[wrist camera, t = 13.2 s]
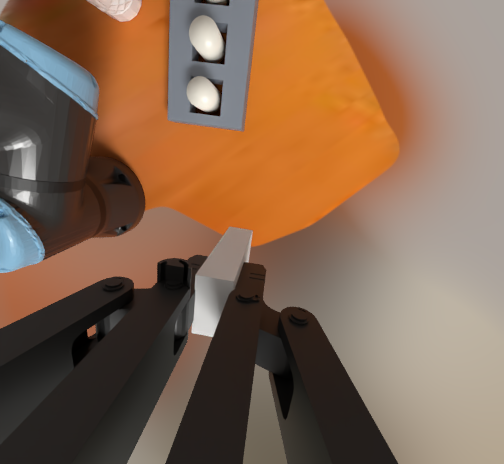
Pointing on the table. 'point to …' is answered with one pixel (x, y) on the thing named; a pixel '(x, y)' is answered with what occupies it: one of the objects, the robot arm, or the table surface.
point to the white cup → (118, 8)
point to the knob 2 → (217, 2)
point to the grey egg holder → (229, 75)
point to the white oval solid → (207, 39)
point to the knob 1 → (204, 94)
